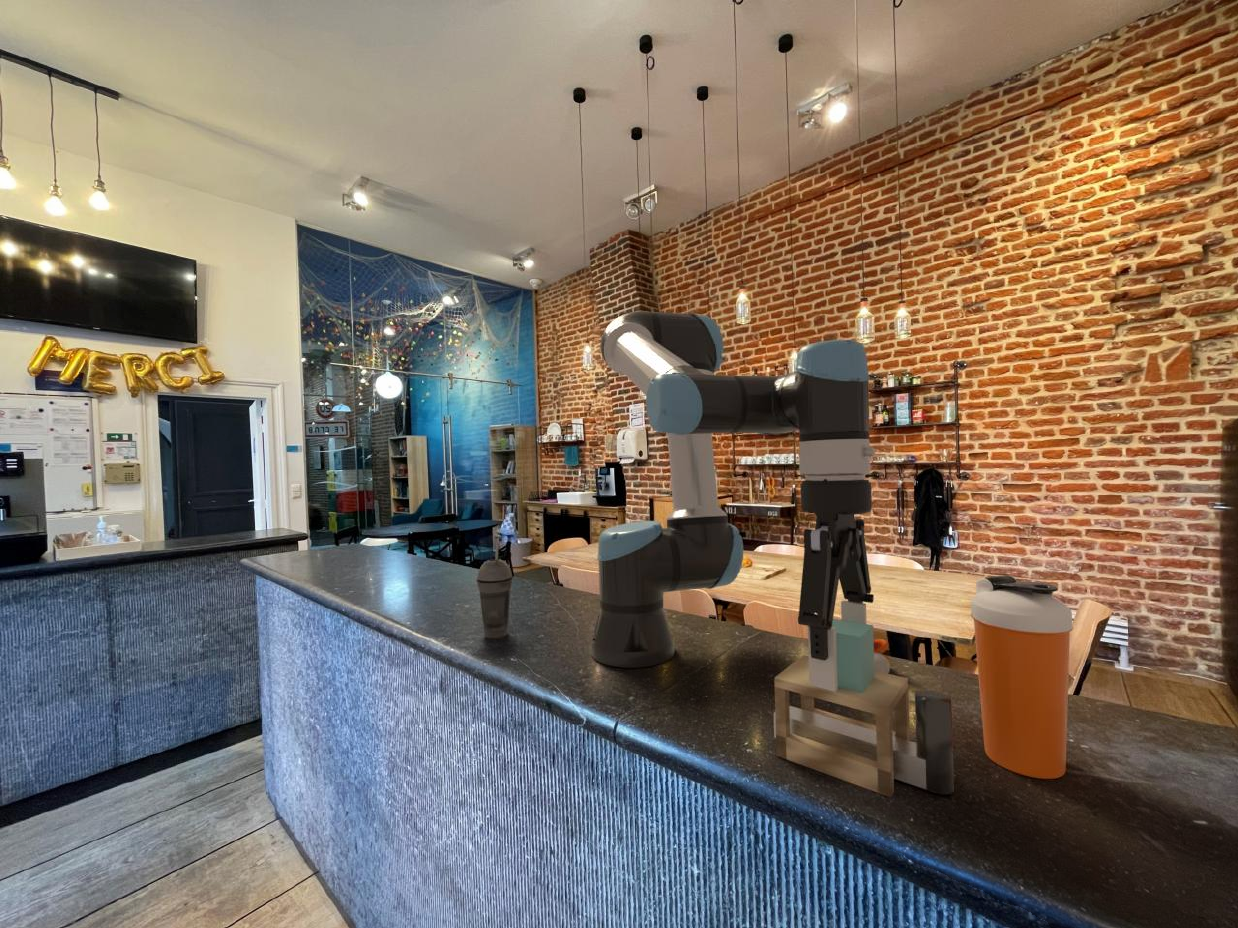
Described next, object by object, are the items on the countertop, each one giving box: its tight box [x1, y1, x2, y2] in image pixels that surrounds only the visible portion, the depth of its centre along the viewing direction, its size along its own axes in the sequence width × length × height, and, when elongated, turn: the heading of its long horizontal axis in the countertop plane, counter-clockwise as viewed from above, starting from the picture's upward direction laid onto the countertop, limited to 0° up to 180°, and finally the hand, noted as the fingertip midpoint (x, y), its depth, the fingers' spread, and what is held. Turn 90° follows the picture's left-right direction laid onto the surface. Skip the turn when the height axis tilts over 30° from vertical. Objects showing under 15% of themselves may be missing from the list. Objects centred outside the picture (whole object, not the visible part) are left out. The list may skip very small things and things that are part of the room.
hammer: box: [773, 689, 955, 795], centre depth 57 cm, size 18×3×9 cm, turn 49°
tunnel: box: [773, 654, 911, 798], centre depth 58 cm, size 12×9×9 cm
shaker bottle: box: [970, 575, 1073, 780], centre depth 57 cm, size 9×9×20 cm
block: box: [832, 618, 875, 693], centre depth 58 cm, size 5×5×6 cm
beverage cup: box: [476, 537, 514, 639], centre depth 105 cm, size 7×7×20 cm
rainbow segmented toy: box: [874, 638, 892, 674], centre depth 82 cm, size 8×10×7 cm
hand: (840, 670), depth 58 cm, fingers open, 10 cm apart
